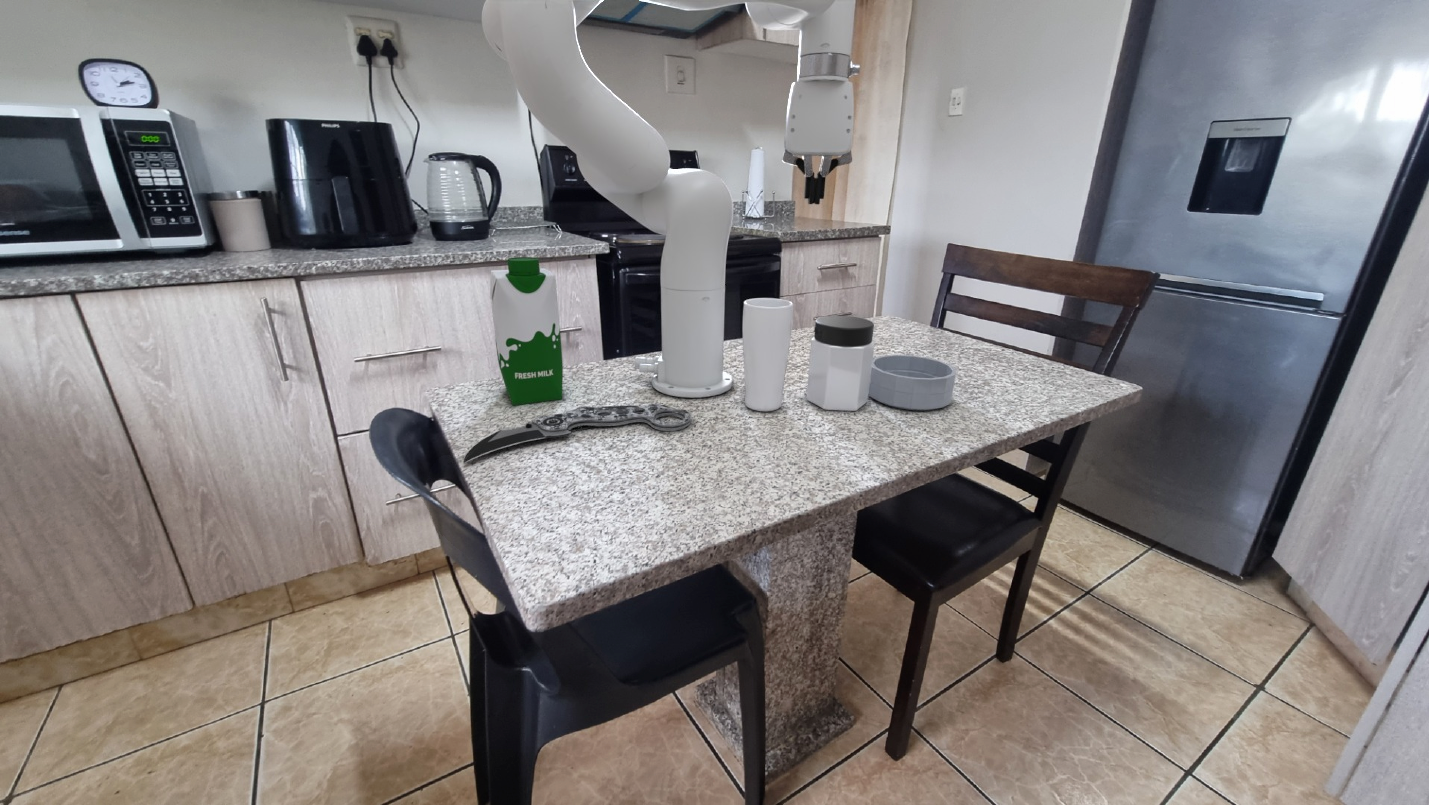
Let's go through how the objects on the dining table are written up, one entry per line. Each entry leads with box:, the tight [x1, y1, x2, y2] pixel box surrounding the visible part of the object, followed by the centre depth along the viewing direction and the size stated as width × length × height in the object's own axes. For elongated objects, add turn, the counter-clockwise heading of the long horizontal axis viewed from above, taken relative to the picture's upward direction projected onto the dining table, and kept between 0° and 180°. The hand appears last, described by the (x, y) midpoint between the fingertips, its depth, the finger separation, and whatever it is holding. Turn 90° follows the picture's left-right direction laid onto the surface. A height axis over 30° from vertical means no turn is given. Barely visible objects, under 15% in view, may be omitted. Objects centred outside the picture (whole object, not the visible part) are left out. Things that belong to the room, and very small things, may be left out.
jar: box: [806, 315, 876, 412], centre depth 84 cm, size 9×8×12 cm
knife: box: [462, 403, 692, 464], centre depth 73 cm, size 28×2×10 cm
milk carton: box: [489, 256, 564, 406], centre depth 83 cm, size 9×9×20 cm
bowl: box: [868, 354, 958, 411], centre depth 87 cm, size 12×12×5 cm
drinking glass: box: [741, 297, 794, 412], centre depth 81 cm, size 7×7×15 cm
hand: (813, 203), depth 92 cm, fingers closed
